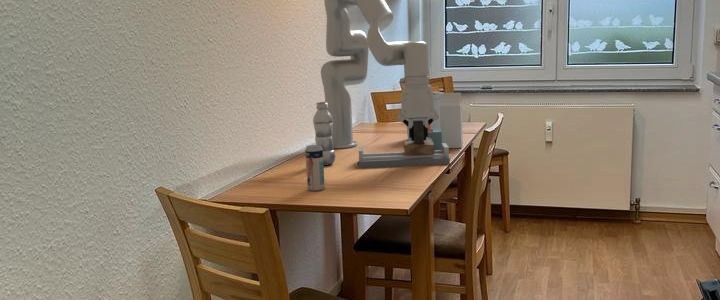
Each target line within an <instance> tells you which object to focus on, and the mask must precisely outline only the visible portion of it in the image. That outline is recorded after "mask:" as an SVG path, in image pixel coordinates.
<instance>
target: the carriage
mask: <svg viewBox="0 0 720 300" xmlns="http://www.w3.org/2000/svg"><path fill="white" fill-rule="evenodd" d="M413 128H414V141H409V140H407V141H405V140H404V141H403V150H404V151H403V152H405V155H426V154H434V143H433V141H432V140H424V127H423V120H413Z"/></svg>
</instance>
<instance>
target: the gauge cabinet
mask: <svg viewBox="0 0 720 300" xmlns="http://www.w3.org/2000/svg"><path fill="white" fill-rule="evenodd" d="M426 140H432V141H433V143H434V151H436V150H442V132H441V130H440V129H439V128H437V129H431V132H428V137H426ZM410 141H412V138H410Z"/></svg>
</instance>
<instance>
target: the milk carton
mask: <svg viewBox="0 0 720 300" xmlns="http://www.w3.org/2000/svg"><path fill="white" fill-rule="evenodd" d="M462 101H463V100H462V93H461V92H445V93H444V92H443V93H440V130H441V132H442V143H446V144H447V145H448V147H449V149H461V148H462V147H463V144H464V143H463V142H464V141H463V136H464V135H463V106H462V105H463V103H462Z"/></svg>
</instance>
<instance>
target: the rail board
mask: <svg viewBox="0 0 720 300" xmlns="http://www.w3.org/2000/svg"><path fill="white" fill-rule="evenodd" d="M449 149H450V148H449V147H448V145H447V144H446V143H442V150H436V151H434V154H426V155H405V151H395V152H373V153H372V152H371V153H369V152H368V153H364V146H359V147H358V168H359V169H367V168H368V169H371V168H389V167H395V168H396V167H415V166H417V167H418V166H435V165H436V166H437V165H438V166H439V165H443V166H444V165H450V164H451V158H450V153H449V152H450V150H449Z"/></svg>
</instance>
